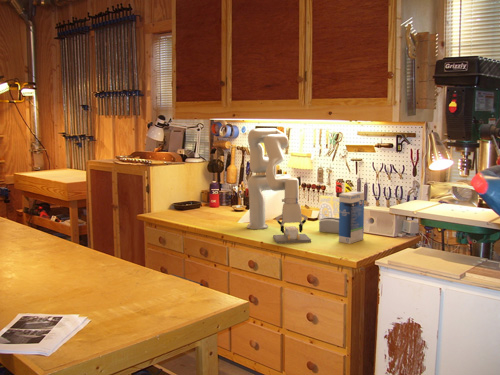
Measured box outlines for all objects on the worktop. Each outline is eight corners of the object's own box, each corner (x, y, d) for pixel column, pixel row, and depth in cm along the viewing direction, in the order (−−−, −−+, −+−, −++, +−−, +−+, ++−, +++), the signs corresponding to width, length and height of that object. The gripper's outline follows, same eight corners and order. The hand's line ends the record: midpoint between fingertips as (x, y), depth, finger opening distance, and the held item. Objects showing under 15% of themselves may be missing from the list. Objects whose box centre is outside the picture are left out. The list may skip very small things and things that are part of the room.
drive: (298, 239, 271) (298, 229, 270) (288, 239, 270) (287, 230, 270) (295, 235, 280) (295, 226, 279) (285, 235, 279) (285, 226, 279)
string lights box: (352, 237, 280) (353, 190, 276) (364, 239, 274) (365, 192, 271) (338, 241, 270) (338, 193, 267) (350, 244, 265) (351, 195, 262)
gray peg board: (273, 237, 282) (273, 230, 281) (305, 236, 284) (305, 229, 283) (277, 243, 268) (277, 236, 267) (310, 242, 270) (310, 234, 269)
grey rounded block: (349, 232, 293) (347, 217, 288) (346, 236, 289) (344, 221, 285) (322, 229, 301) (320, 214, 297) (319, 233, 297) (317, 218, 293)
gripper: (276, 202, 268) (276, 234, 271) (309, 201, 270) (308, 233, 272) (274, 200, 276) (274, 231, 278) (305, 199, 278) (305, 230, 280)
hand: (291, 232), depth 275 cm, fingers open, 9 cm apart
